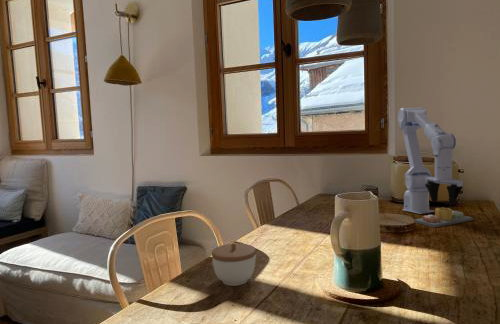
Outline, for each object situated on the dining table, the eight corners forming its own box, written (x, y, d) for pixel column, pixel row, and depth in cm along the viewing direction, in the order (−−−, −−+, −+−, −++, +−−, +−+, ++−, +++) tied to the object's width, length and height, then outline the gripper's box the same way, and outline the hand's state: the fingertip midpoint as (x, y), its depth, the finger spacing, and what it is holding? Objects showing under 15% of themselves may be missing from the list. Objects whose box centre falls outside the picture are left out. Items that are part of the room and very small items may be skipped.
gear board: (414, 222, 139) (414, 214, 139) (451, 215, 146) (451, 208, 146) (434, 227, 131) (434, 219, 130) (472, 220, 138) (472, 212, 138)
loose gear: (431, 217, 140) (431, 208, 140) (442, 216, 142) (442, 207, 142) (444, 220, 135) (444, 211, 135) (455, 218, 137) (455, 209, 137)
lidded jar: (233, 269, 99) (231, 234, 98) (265, 278, 92) (264, 241, 91) (204, 283, 91) (202, 245, 90) (237, 293, 84) (235, 253, 83)
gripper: (419, 166, 142) (419, 201, 143) (453, 169, 129) (453, 208, 130) (432, 165, 145) (432, 199, 146) (467, 167, 131) (467, 205, 133)
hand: (443, 203), depth 138 cm, fingers open, 7 cm apart
